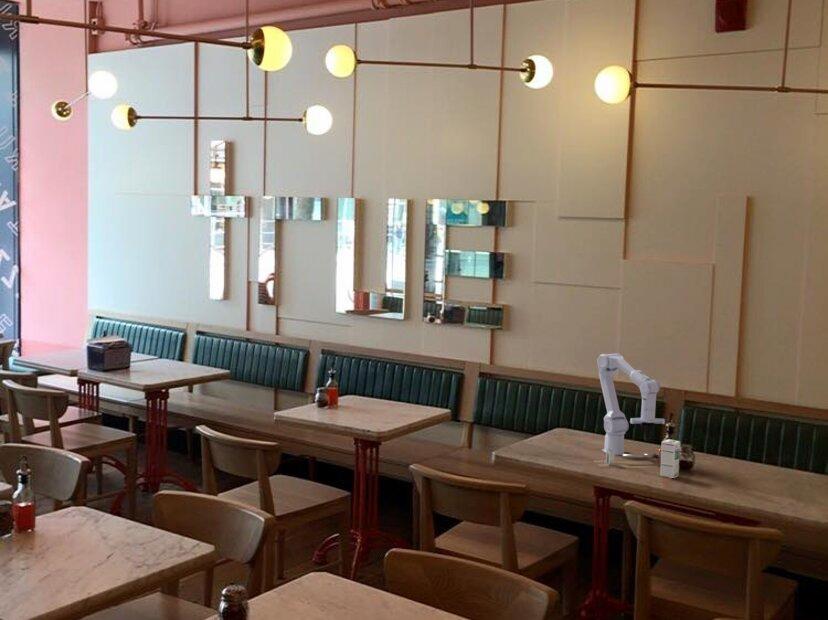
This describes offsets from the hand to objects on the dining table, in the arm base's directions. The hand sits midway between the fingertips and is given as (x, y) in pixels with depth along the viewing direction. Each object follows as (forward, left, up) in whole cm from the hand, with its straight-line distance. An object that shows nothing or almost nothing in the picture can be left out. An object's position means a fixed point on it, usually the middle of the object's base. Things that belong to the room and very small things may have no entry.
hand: (646, 440), depth 399 cm
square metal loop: (+3, -16, -10) cm, 19 cm away
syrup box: (+20, +3, -10) cm, 22 cm away
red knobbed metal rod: (+3, -2, -9) cm, 10 cm away
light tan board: (+3, -9, -10) cm, 14 cm away
